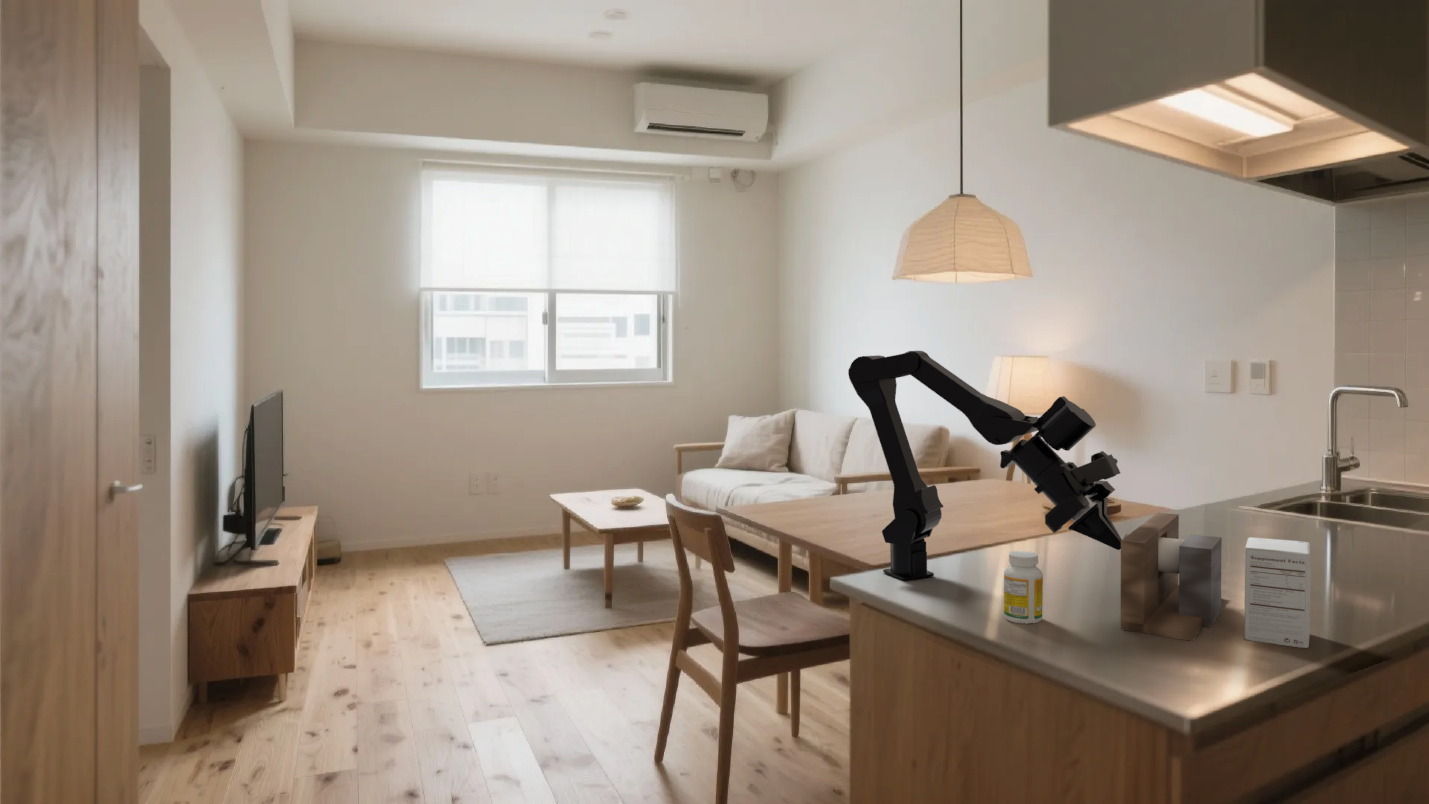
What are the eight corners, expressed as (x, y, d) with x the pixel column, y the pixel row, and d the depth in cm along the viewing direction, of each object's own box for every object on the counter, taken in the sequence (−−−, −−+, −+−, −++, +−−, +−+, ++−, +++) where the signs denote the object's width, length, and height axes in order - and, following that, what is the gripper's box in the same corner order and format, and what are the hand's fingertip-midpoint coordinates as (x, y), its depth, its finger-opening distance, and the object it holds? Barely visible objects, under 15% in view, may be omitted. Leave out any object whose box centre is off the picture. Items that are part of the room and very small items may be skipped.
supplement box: (1246, 625, 126) (1247, 535, 126) (1310, 633, 122) (1311, 541, 121) (1242, 640, 120) (1243, 546, 120) (1309, 649, 116) (1310, 552, 115)
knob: (1119, 570, 134) (1119, 536, 134) (1127, 563, 138) (1127, 531, 138) (1181, 577, 129) (1181, 543, 129) (1187, 570, 133) (1188, 536, 133)
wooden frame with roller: (1117, 628, 126) (1117, 540, 125) (1154, 589, 145) (1155, 512, 144) (1201, 642, 120) (1201, 549, 119) (1228, 599, 139) (1229, 518, 138)
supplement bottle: (1013, 625, 129) (1012, 559, 128) (997, 614, 134) (997, 550, 133) (1049, 623, 129) (1049, 557, 129) (1032, 612, 135) (1032, 549, 134)
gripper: (1067, 442, 131) (1149, 525, 125) (1101, 430, 146) (1176, 504, 140) (1013, 491, 136) (1089, 573, 130) (1051, 475, 151) (1121, 548, 145)
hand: (1121, 547), depth 136 cm, fingers closed, pressing on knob
